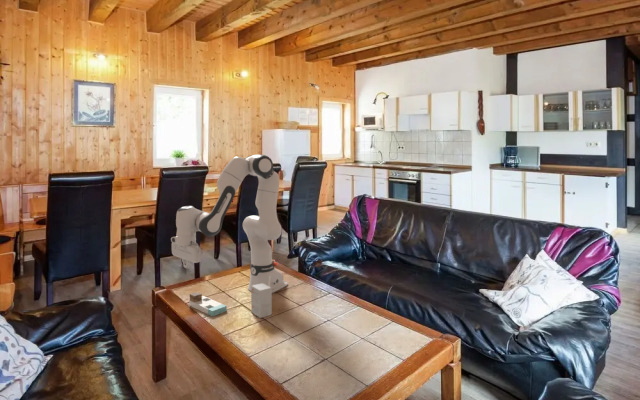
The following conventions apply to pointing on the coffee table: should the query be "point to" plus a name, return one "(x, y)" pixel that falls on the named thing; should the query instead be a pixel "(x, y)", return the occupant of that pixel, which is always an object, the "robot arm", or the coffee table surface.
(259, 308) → the small box
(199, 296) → the block
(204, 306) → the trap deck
